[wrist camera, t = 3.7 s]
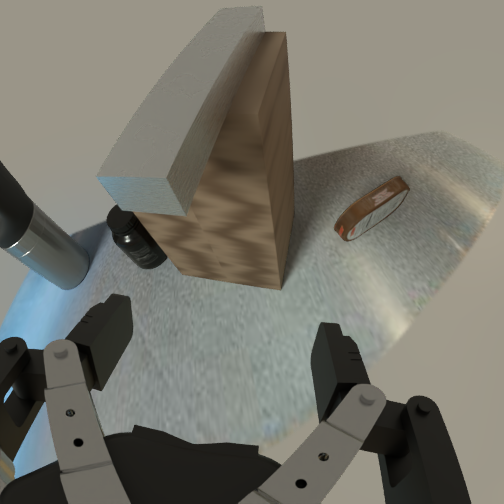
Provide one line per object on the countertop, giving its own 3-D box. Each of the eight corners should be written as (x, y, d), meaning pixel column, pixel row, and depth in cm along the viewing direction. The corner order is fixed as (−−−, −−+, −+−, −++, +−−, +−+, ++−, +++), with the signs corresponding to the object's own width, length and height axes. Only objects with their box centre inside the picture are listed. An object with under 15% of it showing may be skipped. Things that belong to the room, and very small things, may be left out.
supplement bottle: (174, 237, 53) (147, 196, 42) (162, 273, 50) (130, 238, 40) (141, 233, 54) (111, 195, 44) (129, 267, 52) (93, 233, 41)
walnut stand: (182, 274, 50) (71, 125, 21) (205, 203, 55) (141, 45, 27) (280, 290, 46) (257, 114, 18) (294, 212, 52) (285, 31, 24)
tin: (392, 196, 52) (404, 166, 44) (404, 208, 50) (417, 179, 43) (330, 238, 49) (335, 208, 42) (342, 252, 48) (350, 224, 41)
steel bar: (122, 210, 16) (96, 176, 13) (225, 33, 25) (220, 8, 22) (186, 216, 15) (166, 177, 12) (265, 31, 24) (262, 6, 22)
